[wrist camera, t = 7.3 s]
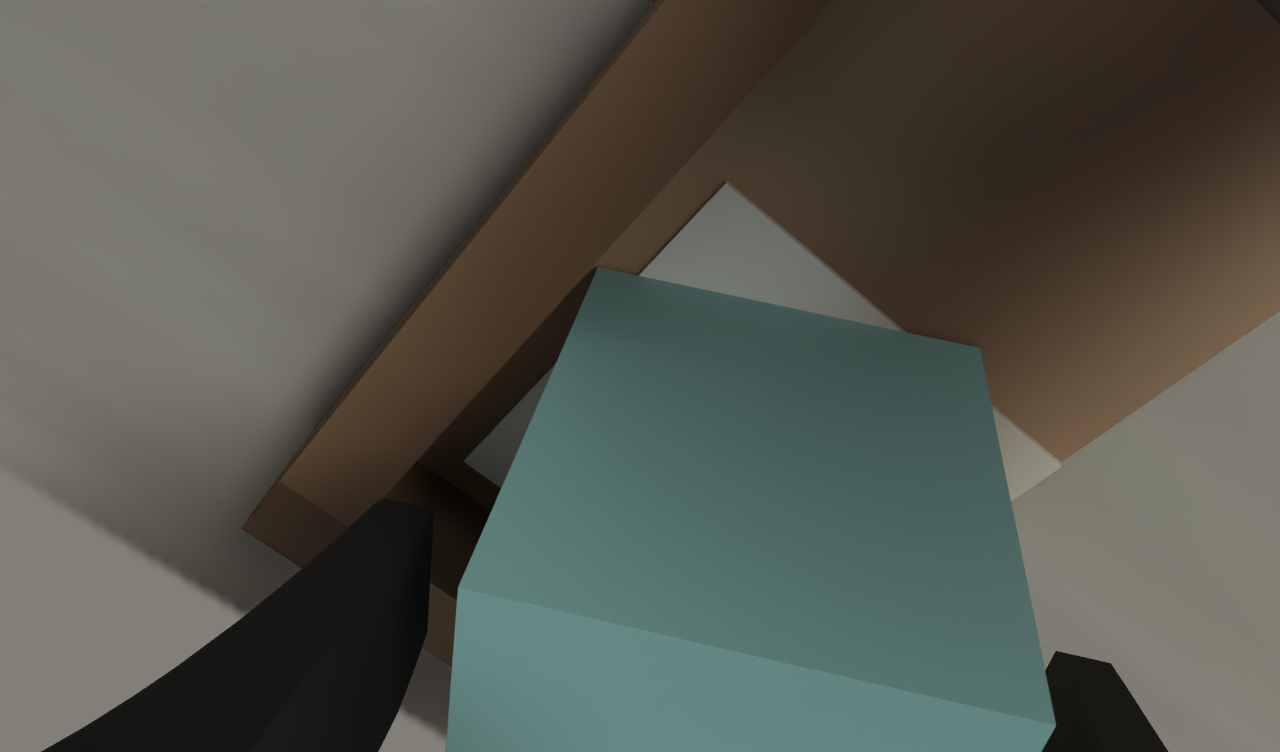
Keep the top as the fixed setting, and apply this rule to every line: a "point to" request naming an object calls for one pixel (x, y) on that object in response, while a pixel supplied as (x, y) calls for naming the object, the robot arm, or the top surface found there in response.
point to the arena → (845, 228)
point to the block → (749, 545)
